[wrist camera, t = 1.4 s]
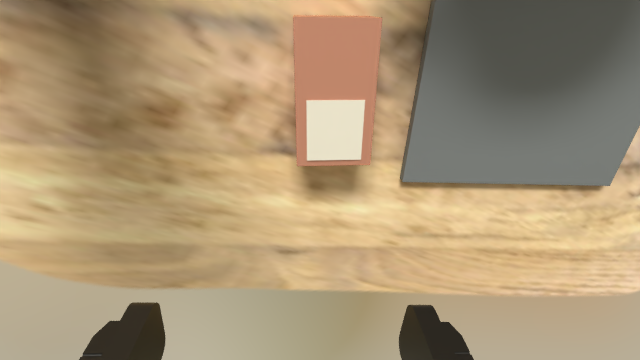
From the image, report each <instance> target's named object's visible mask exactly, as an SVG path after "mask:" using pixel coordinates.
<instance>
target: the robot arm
mask: <svg viewBox="0 0 640 360" xmlns="http://www.w3.org/2000/svg"><path fill="white" fill-rule="evenodd" d="M164 347H165V332H164V326H163V321H162V316H161V310H160V305H159V304H158V303H131V304H130V305H129V306H128V308H127V310H126V311H125V313H124V315H123V317H122V318H121V320H120V321H110V322H108V323H107V324H106V325H105V326H104V327H103V328H102V329H101V330H99V331H98V332H97V333H96V334H95V335H94V336H93V338H92V339H91V341H90V343H89V344H88V346H87V348H86V349H85V351H84V353H83V356H82V357H80V359H79V360H161V358H162V355H163V352H164ZM399 349H400V355H401V358H402V360H474V359H473V357H472V355H470V353H469V349H468V347H467V345H466V343H465V341H464V339H463V337H462V336H461V334H460V333H459V332H458V331H457V330H456V329H455V328H454V327H453V326H452V325H451V324H450V323H449V322H440V320H439V317H438V315H437V313H436V311H435V309H434V308H433V306H431V305H408V307H407V309H406V313H405V316H404V320H403V324H402V327H401V331H400V335H399Z"/></svg>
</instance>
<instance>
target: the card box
mask: <svg viewBox="0 0 640 360" xmlns="http://www.w3.org/2000/svg"><path fill="white" fill-rule="evenodd" d="M293 22H294V64H295V107H296V149H297V166H329V165H370V160H371V147H372V135H373V123H374V111H375V99H376V87H377V75H378V63H379V51H380V39H381V27H382V18H380V17H372V16H301V15H294V16H293Z"/></svg>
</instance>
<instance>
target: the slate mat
mask: <svg viewBox="0 0 640 360" xmlns="http://www.w3.org/2000/svg"><path fill="white" fill-rule="evenodd" d="M639 126H640V0H432V1H431V7H430V13H429V18H428V24H427V29H426V35H425V41H424V46H423V52H422V57H421V63H420V69H419V74H418V80H417V86H416V91H415V97H414V102H413V108H412V114H411V119H410V125H409V130H408V136H407V142H406V147H405V153H404V158H403V164H402V170H401V175H400V179H401V180H402V182H434V183H487V184H541V185H594V186H610V184H611V182H612V180H613V178H614V176H615V174H616V172H617V170H618V168H619V166H620V164H621V162H622V160H623V158H624V156H625V154H626V152H627V150H628V148H629V146H630V144H631V142H632V140H633V138H634V136H635V134H636V132H637V130H638V128H639Z"/></svg>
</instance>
